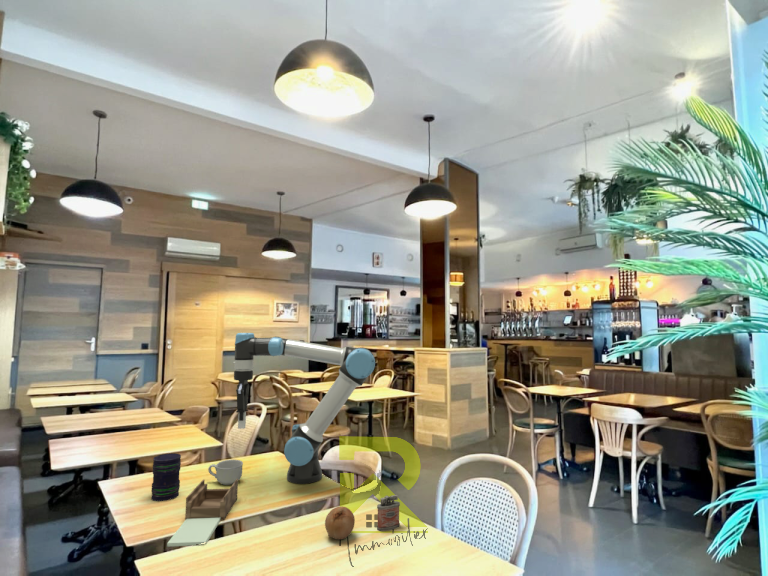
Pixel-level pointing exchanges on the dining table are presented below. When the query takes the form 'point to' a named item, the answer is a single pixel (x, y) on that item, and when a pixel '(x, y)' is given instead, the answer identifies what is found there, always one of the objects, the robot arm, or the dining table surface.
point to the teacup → (227, 471)
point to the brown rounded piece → (339, 522)
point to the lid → (194, 532)
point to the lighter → (388, 513)
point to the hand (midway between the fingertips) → (241, 428)
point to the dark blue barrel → (166, 477)
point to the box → (210, 501)
